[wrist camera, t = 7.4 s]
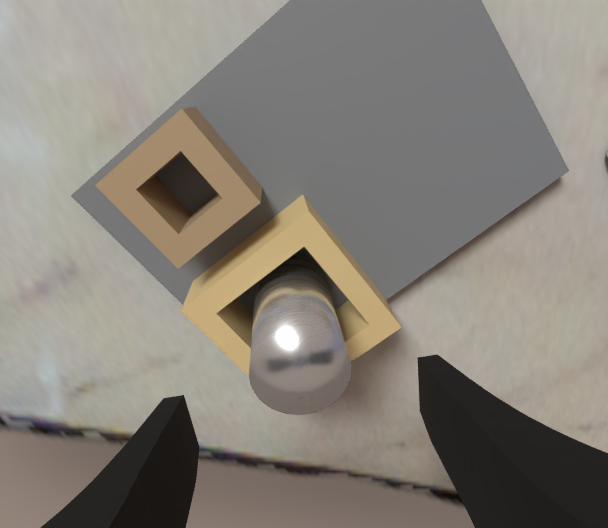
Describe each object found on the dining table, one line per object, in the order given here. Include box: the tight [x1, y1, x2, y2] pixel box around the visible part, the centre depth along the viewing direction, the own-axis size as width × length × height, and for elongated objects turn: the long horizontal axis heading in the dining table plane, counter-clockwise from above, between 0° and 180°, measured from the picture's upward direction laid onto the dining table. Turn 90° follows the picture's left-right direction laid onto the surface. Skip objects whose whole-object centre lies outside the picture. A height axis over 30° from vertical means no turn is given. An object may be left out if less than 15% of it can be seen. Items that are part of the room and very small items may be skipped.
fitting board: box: [71, 0, 569, 376], centre depth 18 cm, size 13×18×4 cm
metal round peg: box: [249, 253, 352, 415], centre depth 17 cm, size 3×3×7 cm
